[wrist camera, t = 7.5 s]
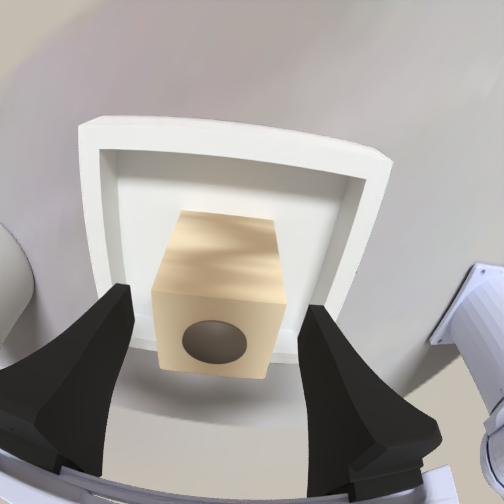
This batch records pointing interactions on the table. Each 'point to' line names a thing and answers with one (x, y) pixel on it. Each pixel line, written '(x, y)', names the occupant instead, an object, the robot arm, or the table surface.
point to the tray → (227, 204)
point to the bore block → (219, 296)
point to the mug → (13, 282)
